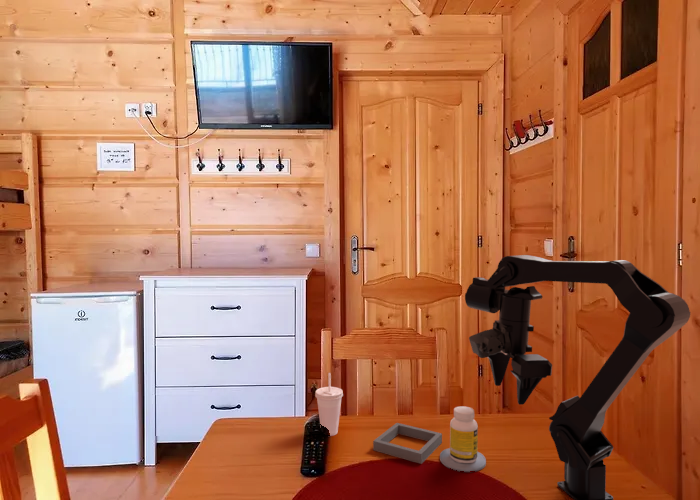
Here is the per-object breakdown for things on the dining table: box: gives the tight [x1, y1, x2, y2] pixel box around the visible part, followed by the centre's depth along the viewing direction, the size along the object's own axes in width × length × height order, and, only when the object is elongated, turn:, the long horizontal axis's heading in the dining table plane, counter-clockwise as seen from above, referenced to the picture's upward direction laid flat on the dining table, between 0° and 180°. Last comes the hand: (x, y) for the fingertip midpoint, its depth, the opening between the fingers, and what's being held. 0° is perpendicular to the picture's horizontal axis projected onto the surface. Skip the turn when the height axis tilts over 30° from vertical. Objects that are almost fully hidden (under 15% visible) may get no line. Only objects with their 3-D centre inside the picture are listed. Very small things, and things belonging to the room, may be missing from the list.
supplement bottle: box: [449, 405, 479, 463], centre depth 92 cm, size 5×5×10 cm
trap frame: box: [372, 422, 443, 465], centre depth 99 cm, size 11×11×2 cm
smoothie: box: [314, 372, 344, 437], centre depth 106 cm, size 6×6×14 cm
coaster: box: [439, 447, 487, 473], centre depth 93 cm, size 9×9×1 cm
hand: (508, 394), depth 93 cm, fingers open, 9 cm apart
